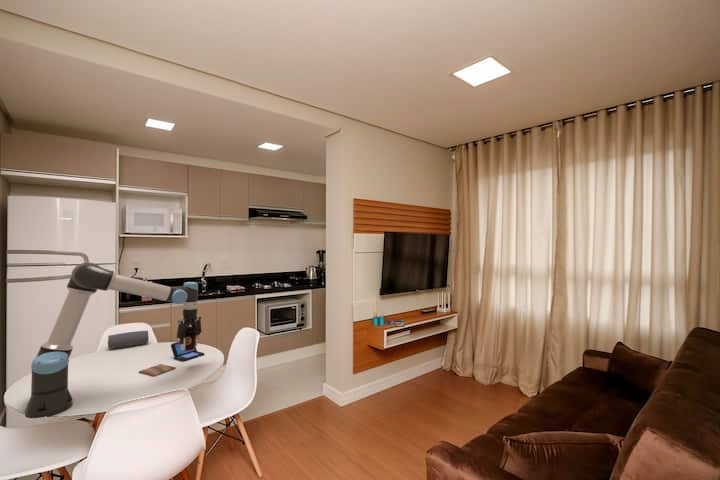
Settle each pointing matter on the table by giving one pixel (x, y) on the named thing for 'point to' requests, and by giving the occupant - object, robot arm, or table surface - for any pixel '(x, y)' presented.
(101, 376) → the table surface
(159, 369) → the walnut board
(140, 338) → the bluetooth speaker
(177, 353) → the handheld game console
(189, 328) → the coffee cup
